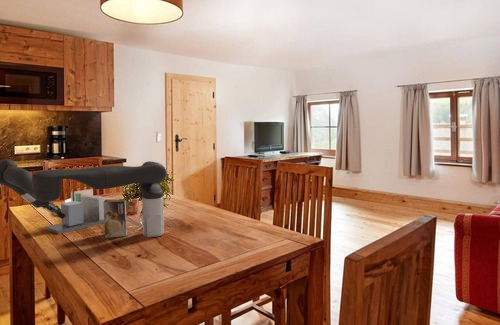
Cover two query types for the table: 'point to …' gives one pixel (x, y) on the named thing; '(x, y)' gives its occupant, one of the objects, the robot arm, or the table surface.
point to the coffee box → (115, 218)
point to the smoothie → (132, 207)
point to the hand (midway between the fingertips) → (63, 216)
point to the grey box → (72, 212)
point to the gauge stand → (91, 212)
